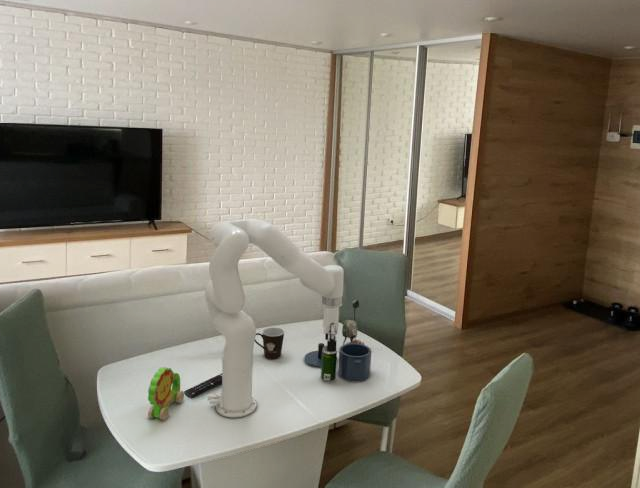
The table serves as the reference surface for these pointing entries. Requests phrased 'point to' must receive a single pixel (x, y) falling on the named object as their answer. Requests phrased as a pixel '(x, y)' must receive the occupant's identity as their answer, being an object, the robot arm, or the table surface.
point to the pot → (354, 362)
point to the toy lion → (164, 392)
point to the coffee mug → (272, 342)
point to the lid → (315, 356)
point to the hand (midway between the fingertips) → (330, 345)
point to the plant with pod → (351, 327)
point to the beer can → (328, 365)
